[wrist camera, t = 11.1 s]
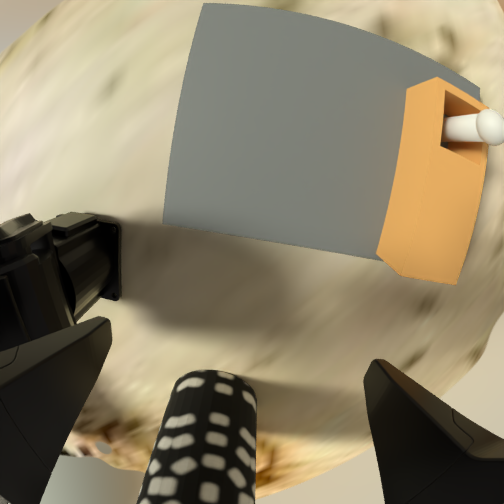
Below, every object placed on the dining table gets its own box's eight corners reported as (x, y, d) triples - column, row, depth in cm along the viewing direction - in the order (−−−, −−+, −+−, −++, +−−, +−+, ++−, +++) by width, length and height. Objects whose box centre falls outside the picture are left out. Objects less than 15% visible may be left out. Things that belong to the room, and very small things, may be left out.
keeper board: (438, 266, 20) (505, 317, 12) (169, 219, 19) (108, 263, 11) (469, 90, 15) (542, 77, 7) (207, 12, 14) (177, -61, 6)
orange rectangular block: (427, 264, 18) (455, 285, 15) (375, 253, 18) (400, 276, 15) (456, 113, 15) (490, 109, 11) (406, 88, 15) (437, 76, 11)
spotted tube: (181, 358, 23) (114, 574, 4) (269, 384, 24) (274, 598, 5) (167, 409, 26) (120, 573, 7) (241, 430, 26) (230, 594, 7)
